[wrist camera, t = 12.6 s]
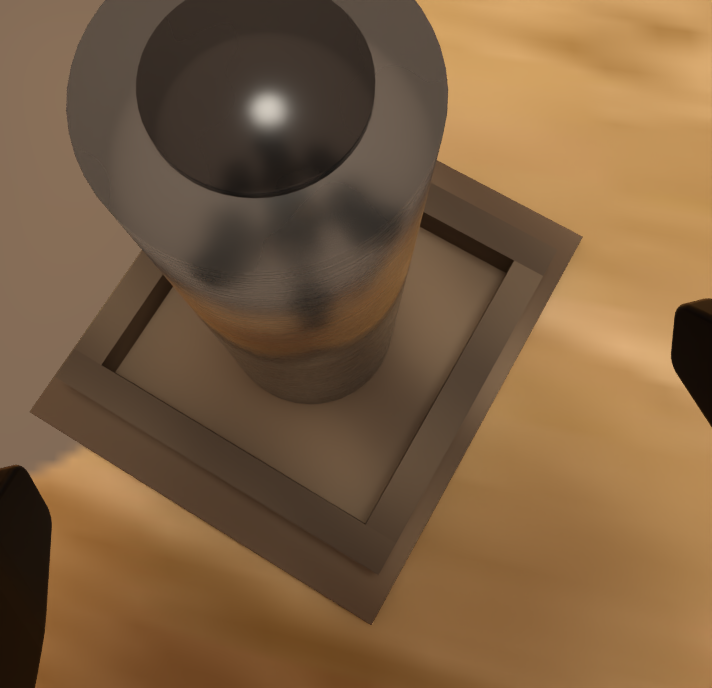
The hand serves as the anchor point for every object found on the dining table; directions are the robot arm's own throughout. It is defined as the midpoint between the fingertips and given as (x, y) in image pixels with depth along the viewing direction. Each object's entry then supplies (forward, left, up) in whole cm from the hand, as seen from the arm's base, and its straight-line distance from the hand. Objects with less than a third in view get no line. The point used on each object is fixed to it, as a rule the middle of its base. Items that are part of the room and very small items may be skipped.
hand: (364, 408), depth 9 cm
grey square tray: (+3, +4, -13) cm, 13 cm away
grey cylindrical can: (+3, +4, -12) cm, 13 cm away
